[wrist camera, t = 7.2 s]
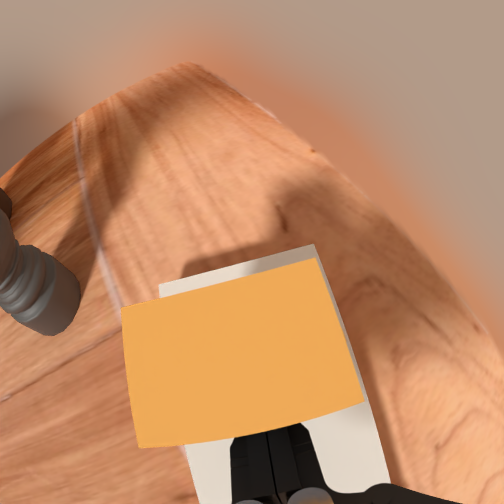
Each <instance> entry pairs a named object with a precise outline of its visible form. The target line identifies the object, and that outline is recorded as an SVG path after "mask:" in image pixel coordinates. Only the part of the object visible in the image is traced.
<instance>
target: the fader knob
mask: <svg viewBox="0 0 504 504" xmlns="http://www.w3.org/2000/svg"><path fill="white" fill-rule="evenodd" d="M121 319H122V334H123V346H124V356H125V366H126V374H127V382H128V390H129V397H130V403H131V410H132V416H133V421H134V427H135V432H136V437H137V442H138V447H139V448H152V447H166V446H177V445H187V444H195V443H203V442H210V441H217V440H223V439H229V438H235V437H240V436H245V435H250V434H255V433H260V432H264V431H269V430H273V429H277V428H281V427H285V426H289V425H293V424H297V423H300V422H304V421H307V420H311V419H314V418H318V417H321V416H324V415H327V414H330V413H333V412H336V411H339V410H342V409H345V408H348V407H351V406H354V405H356V404H359V403H362V402H365V400H364V397H363V394H362V390H361V387H360V384H359V381H358V377H357V374H356V371H355V368H354V365H353V362H352V359H351V356H350V353H349V350H348V347H347V344H346V341H345V338H344V335H343V332H342V329H341V326H340V323H339V320H338V317H337V314H336V312H335V309H334V306H333V303H332V300H331V298H330V295H329V292H328V289H327V287H326V284H325V281H324V278H323V276H322V273H321V270H320V268H319V265H318V263H317V260H316V257H315V258H311V259H308V260H304V261H300V262H297V263H293V264H289V265H286V266H282V267H278V268H275V269H271V270H267V271H263V272H260V273H256V274H252V275H248V276H245V277H241V278H237V279H233V280H229V281H226V282H222V283H218V284H214V285H210V286H206V287H202V288H198V289H194V290H191V291H187V292H183V293H179V294H175V295H171V296H167V297H163V298H159V299H155V300H150V301H146V302H142V303H138V304H134V305H130V306H126V307H122V308H121Z"/></svg>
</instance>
